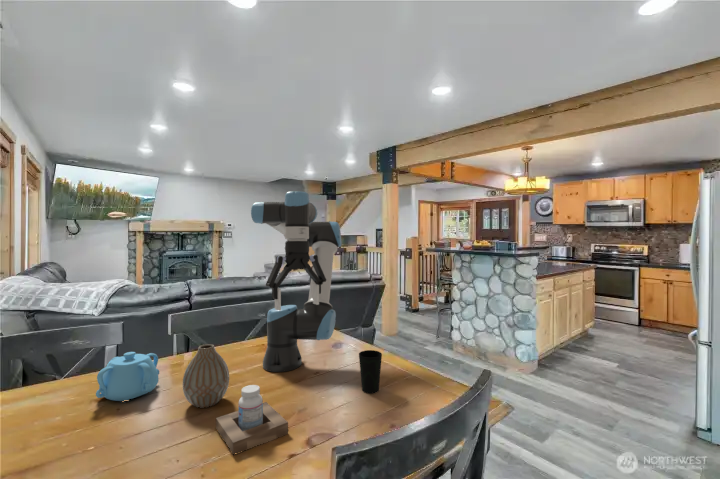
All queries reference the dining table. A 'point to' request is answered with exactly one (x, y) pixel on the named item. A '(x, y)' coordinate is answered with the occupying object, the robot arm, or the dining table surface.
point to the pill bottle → (250, 408)
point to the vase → (206, 377)
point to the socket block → (255, 436)
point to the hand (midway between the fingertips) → (297, 306)
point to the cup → (370, 370)
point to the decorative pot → (128, 376)
